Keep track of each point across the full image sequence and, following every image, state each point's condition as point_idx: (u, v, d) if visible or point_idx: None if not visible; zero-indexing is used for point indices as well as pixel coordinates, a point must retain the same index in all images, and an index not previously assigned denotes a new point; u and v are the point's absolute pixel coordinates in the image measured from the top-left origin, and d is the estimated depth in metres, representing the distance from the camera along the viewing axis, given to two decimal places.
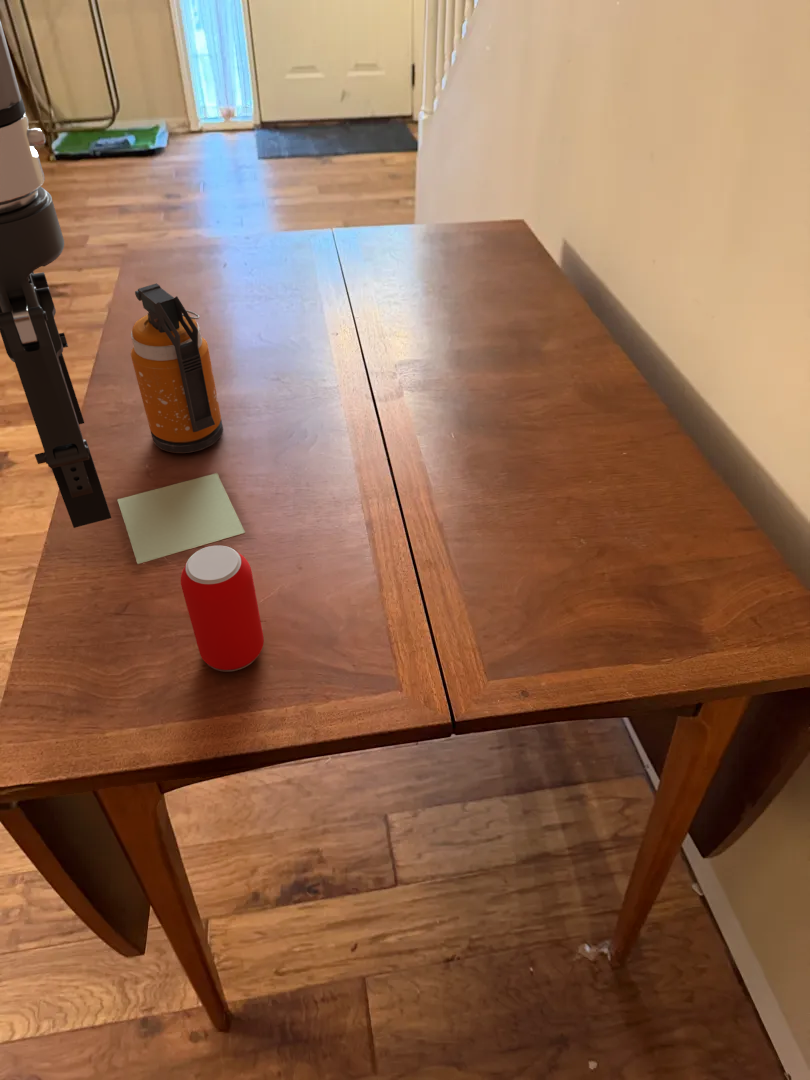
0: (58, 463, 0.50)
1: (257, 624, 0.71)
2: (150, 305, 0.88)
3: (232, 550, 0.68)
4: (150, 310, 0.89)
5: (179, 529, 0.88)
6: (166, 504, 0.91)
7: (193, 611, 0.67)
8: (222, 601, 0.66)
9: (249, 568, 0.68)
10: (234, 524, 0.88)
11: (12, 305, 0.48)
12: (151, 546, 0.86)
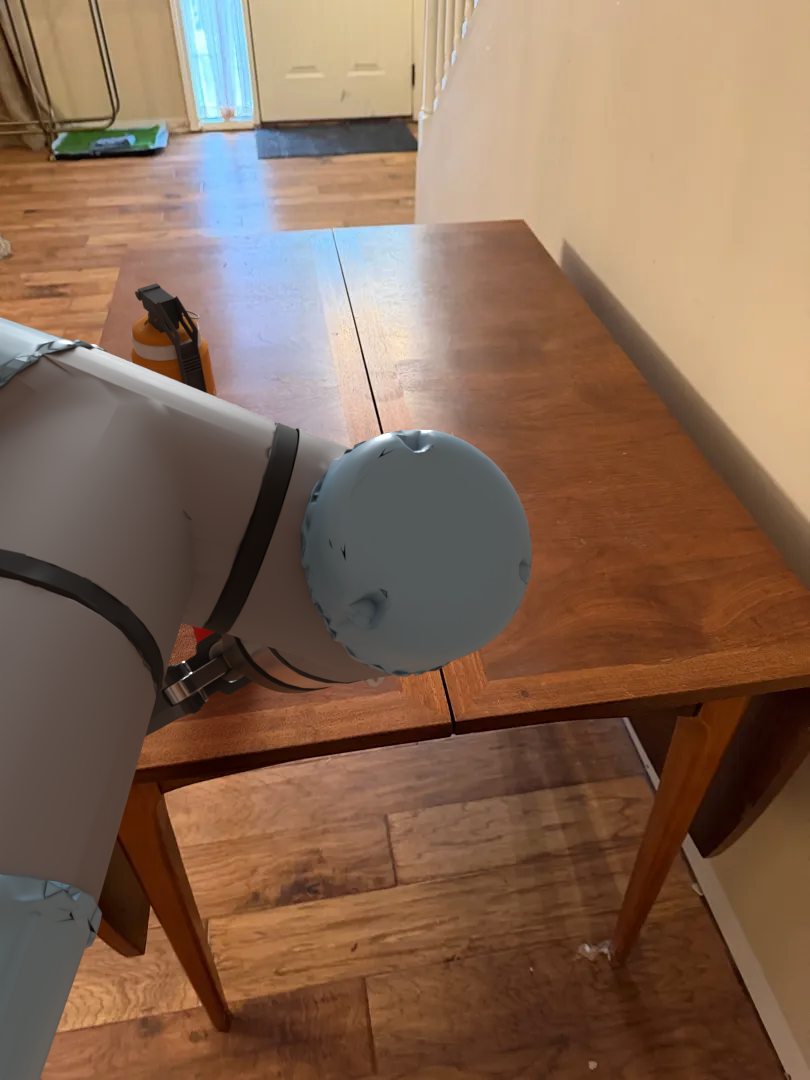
0: None
1: None
2: (150, 305, 0.88)
3: None
4: (150, 310, 0.89)
5: None
6: None
7: None
8: None
9: None
10: None
11: (208, 664, 0.40)
12: None
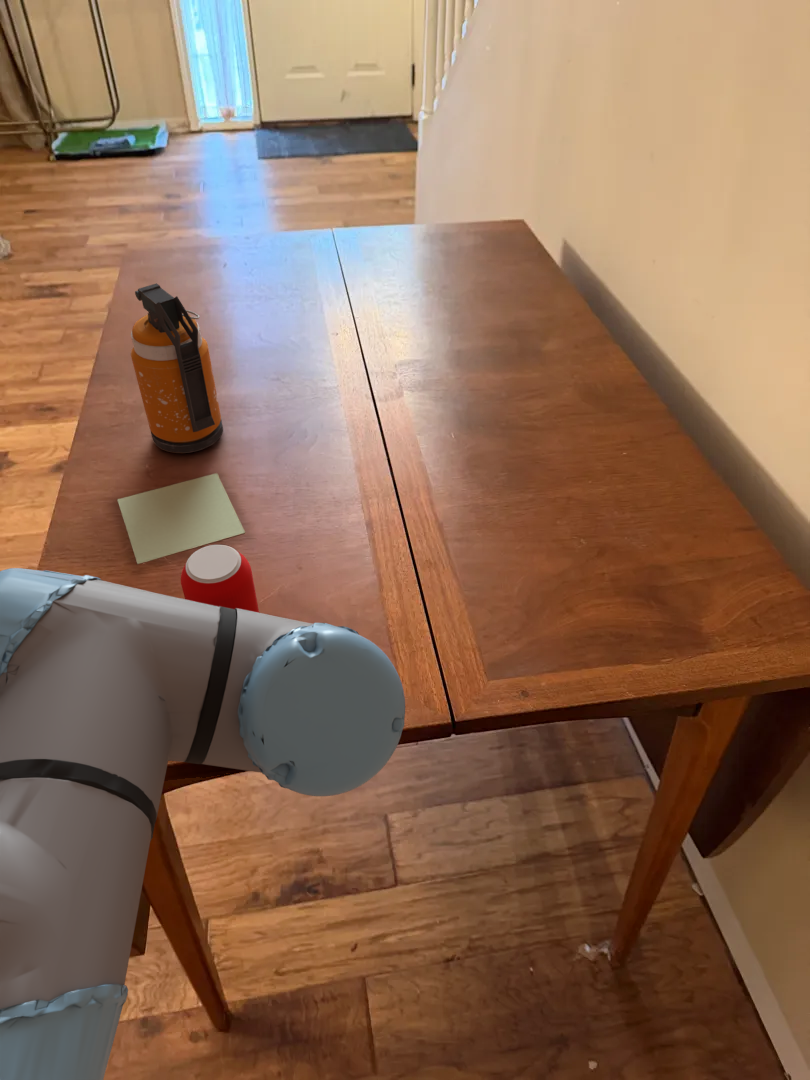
0: None
1: None
2: (150, 305, 0.88)
3: (232, 549, 0.68)
4: (150, 310, 0.89)
5: (179, 529, 0.88)
6: (166, 504, 0.91)
7: None
8: (222, 600, 0.66)
9: (249, 567, 0.68)
10: (234, 524, 0.88)
11: None
12: (151, 546, 0.86)
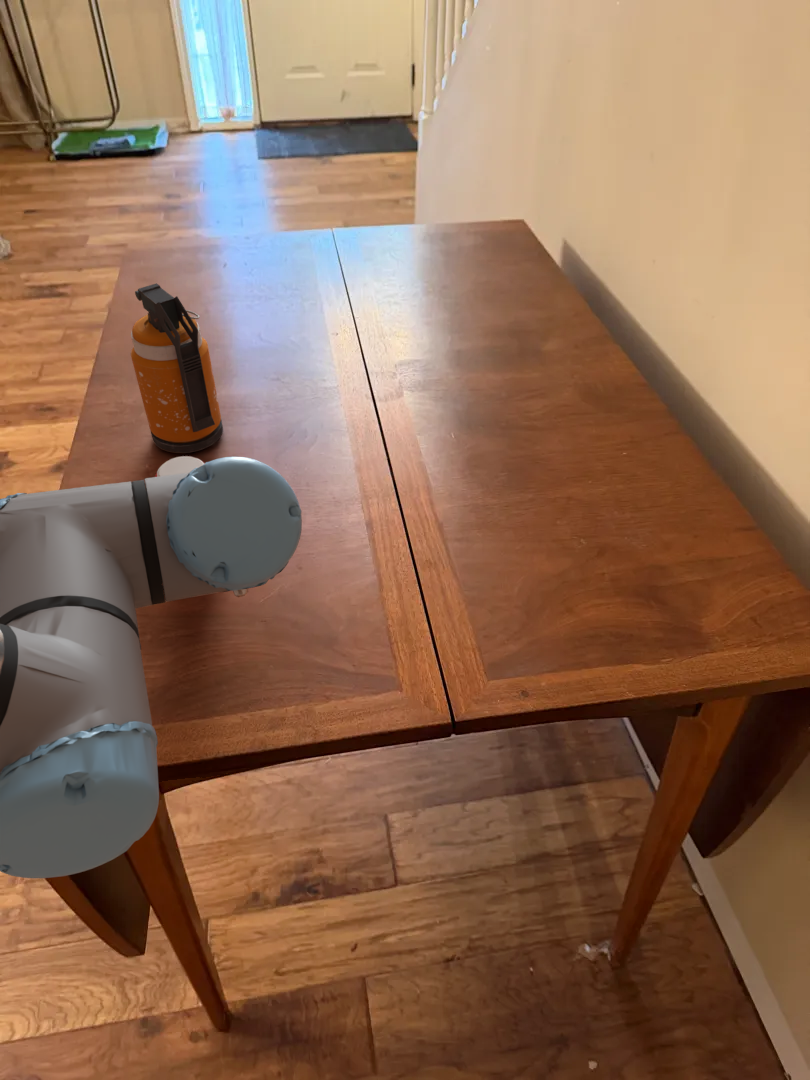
0: None
1: None
2: (150, 305, 0.88)
3: (198, 460, 0.78)
4: (150, 310, 0.89)
5: None
6: None
7: None
8: None
9: None
10: None
11: None
12: None
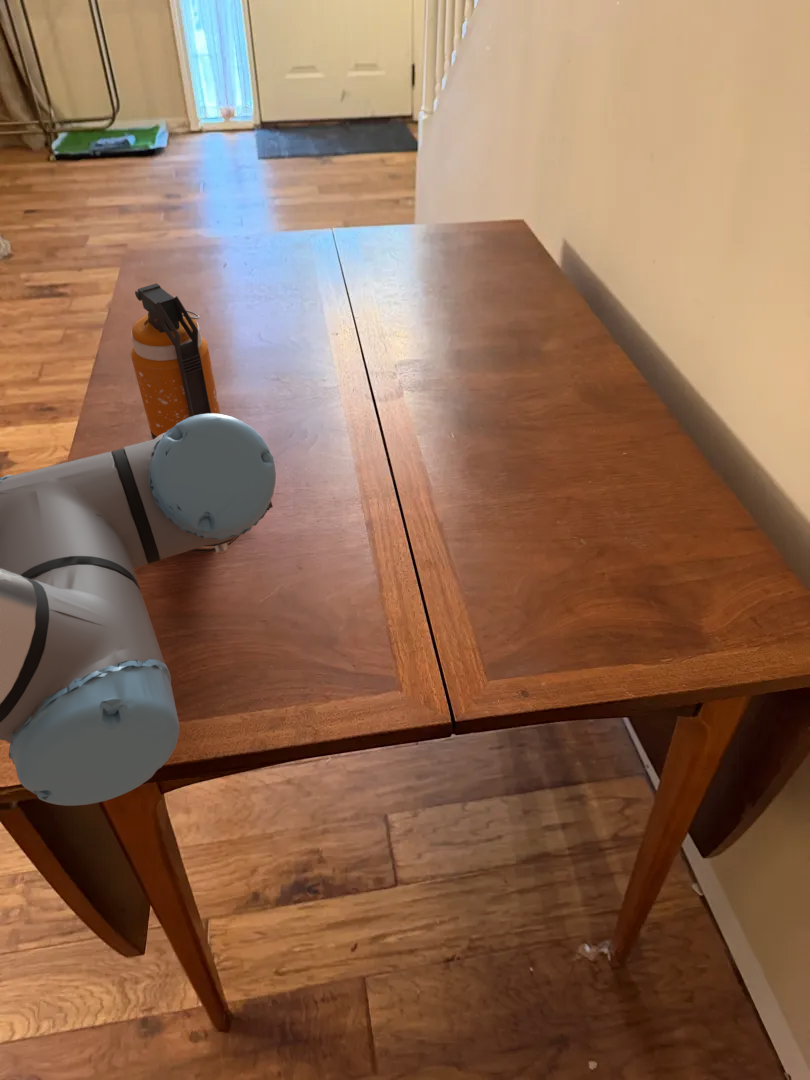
0: None
1: None
2: (150, 305, 0.88)
3: None
4: (150, 310, 0.89)
5: None
6: None
7: None
8: None
9: None
10: None
11: None
12: None
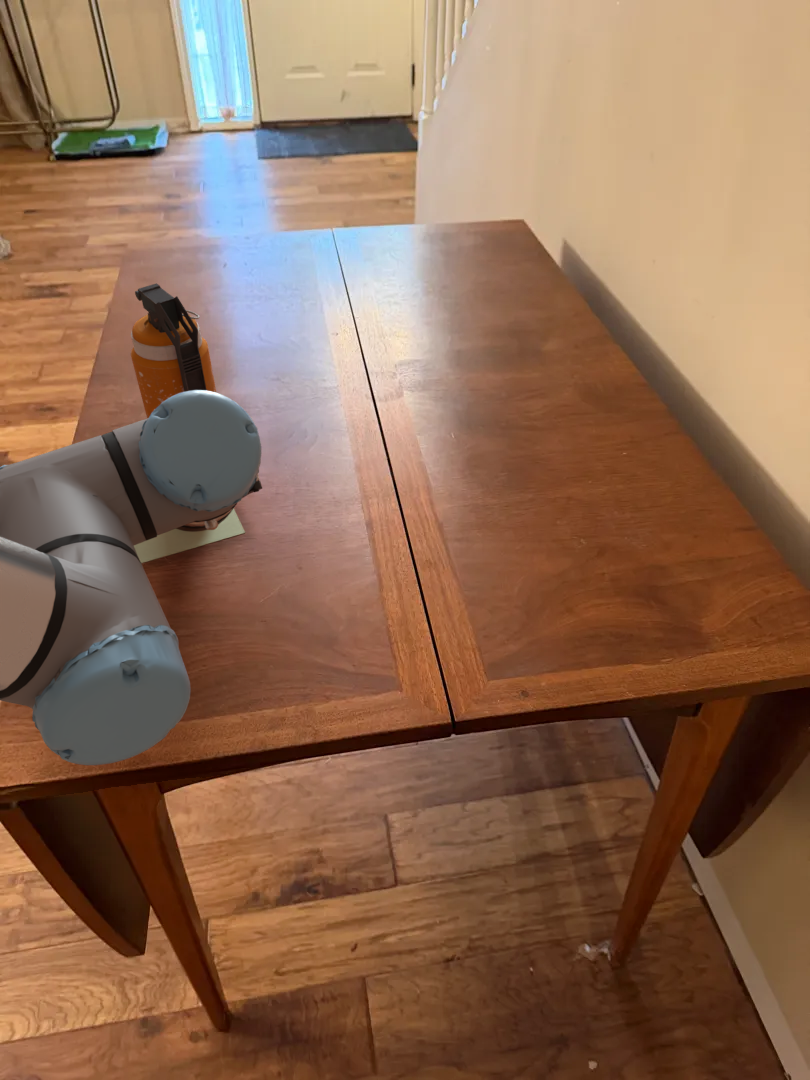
0: None
1: None
2: (150, 305, 0.88)
3: None
4: (150, 310, 0.89)
5: None
6: None
7: None
8: None
9: None
10: (234, 524, 0.88)
11: None
12: (151, 546, 0.86)
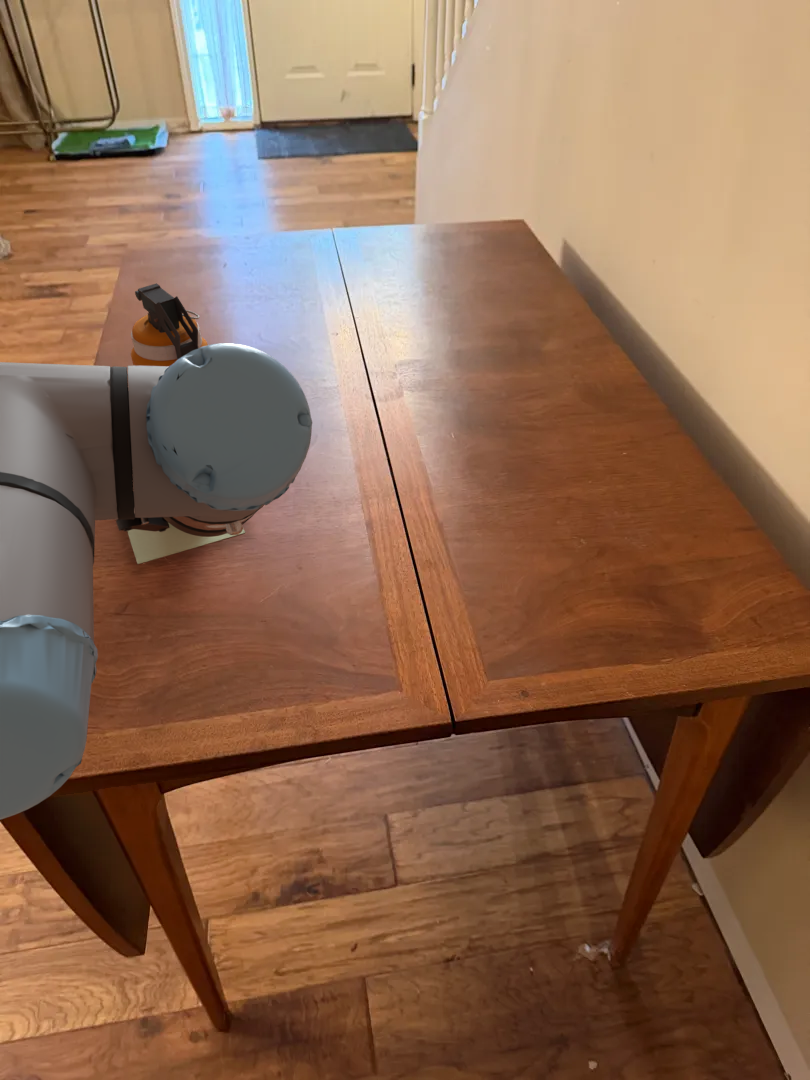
0: None
1: None
2: (150, 305, 0.88)
3: None
4: (150, 310, 0.89)
5: None
6: None
7: None
8: None
9: None
10: None
11: None
12: (151, 546, 0.86)
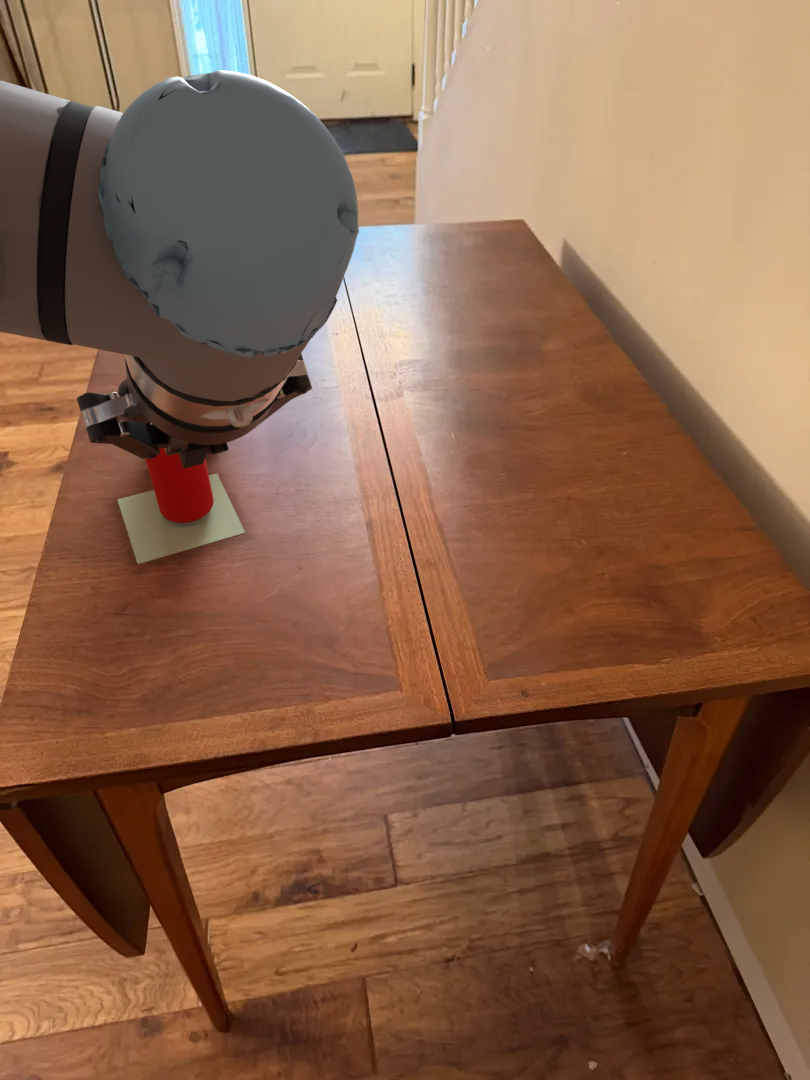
0: None
1: (206, 483, 0.86)
2: None
3: None
4: None
5: (179, 529, 0.88)
6: None
7: (151, 466, 0.83)
8: (174, 455, 0.81)
9: None
10: (234, 524, 0.88)
11: (112, 400, 0.41)
12: (151, 546, 0.86)
